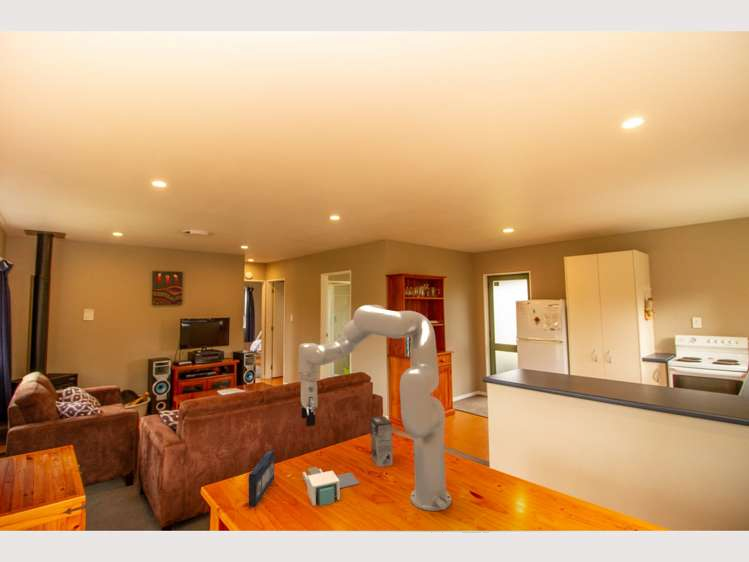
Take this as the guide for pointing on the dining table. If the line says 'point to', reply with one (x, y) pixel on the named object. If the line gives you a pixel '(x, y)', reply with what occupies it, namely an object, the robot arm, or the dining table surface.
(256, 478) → the vhs cassette tape
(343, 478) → the mat
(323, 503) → the block
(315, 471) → the rod
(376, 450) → the coffee box
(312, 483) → the white box
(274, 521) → the dining table surface
